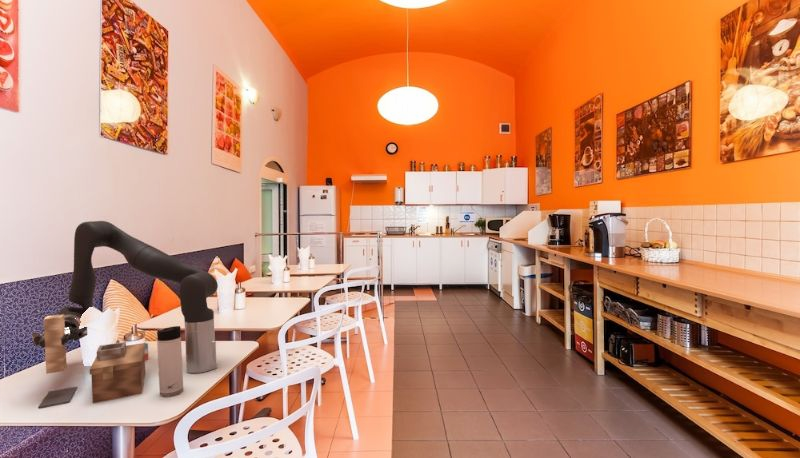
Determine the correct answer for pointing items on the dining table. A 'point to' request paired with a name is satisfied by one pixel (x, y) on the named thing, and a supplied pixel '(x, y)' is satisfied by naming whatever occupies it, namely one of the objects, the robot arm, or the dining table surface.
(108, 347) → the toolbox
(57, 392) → the rubber mat
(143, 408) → the dining table surface
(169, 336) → the travel mug
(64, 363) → the wooden block
